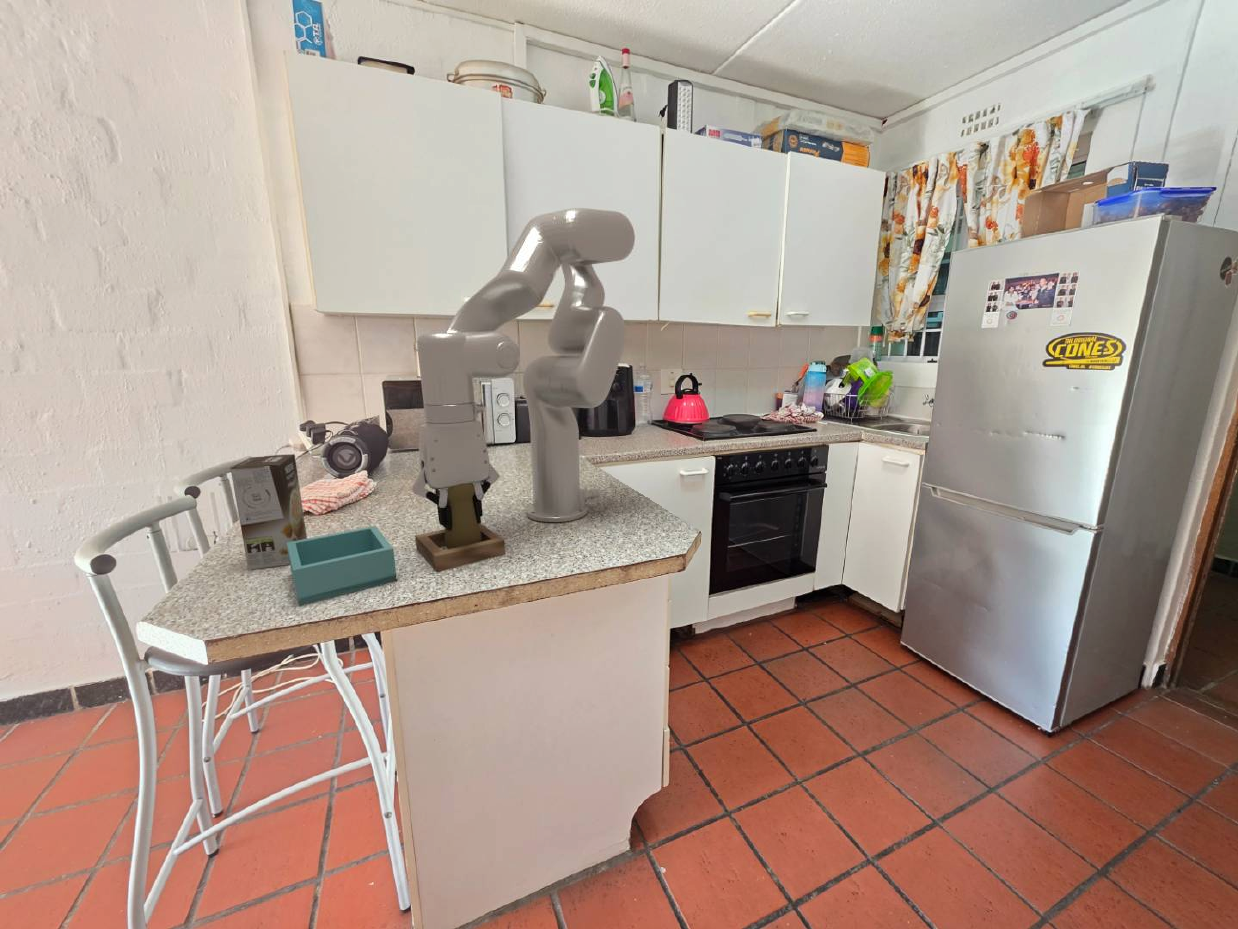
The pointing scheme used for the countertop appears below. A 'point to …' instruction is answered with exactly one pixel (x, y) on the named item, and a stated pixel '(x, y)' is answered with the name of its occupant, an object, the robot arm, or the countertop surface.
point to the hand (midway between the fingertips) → (461, 523)
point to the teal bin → (340, 564)
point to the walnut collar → (458, 549)
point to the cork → (462, 517)
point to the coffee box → (268, 508)
